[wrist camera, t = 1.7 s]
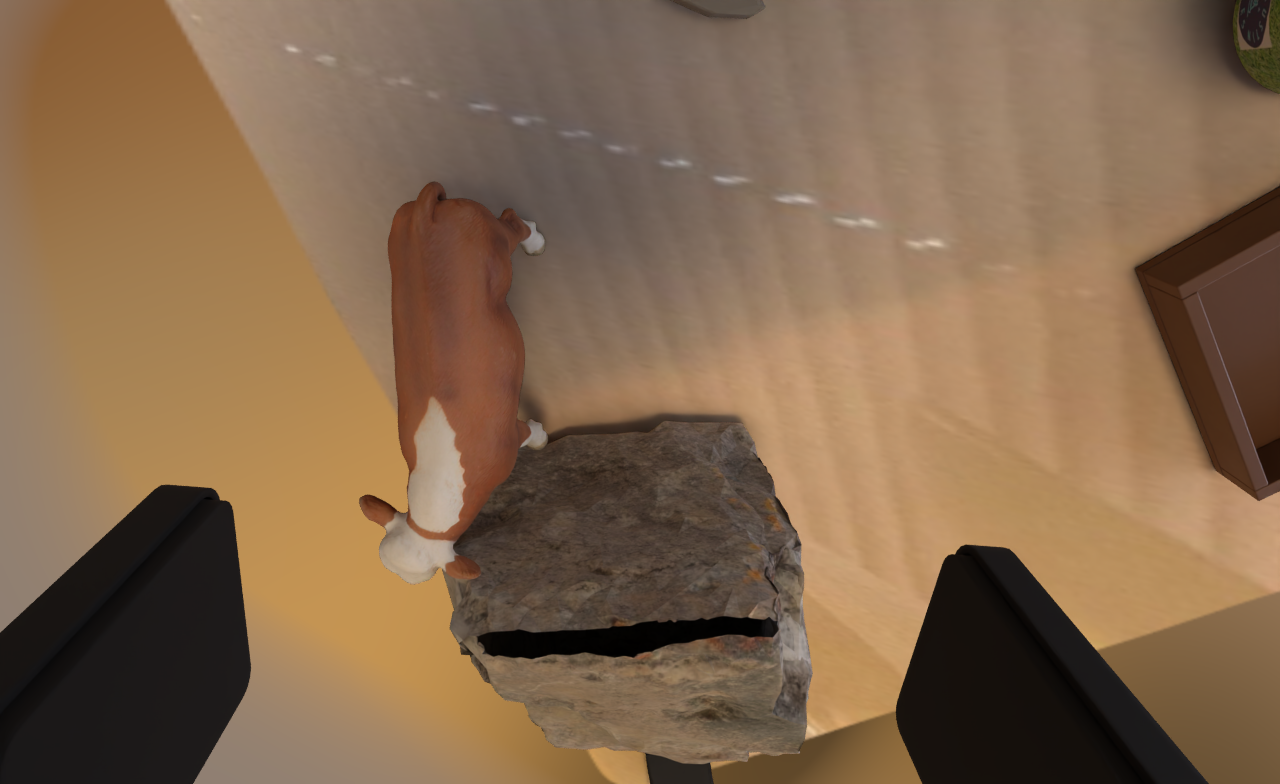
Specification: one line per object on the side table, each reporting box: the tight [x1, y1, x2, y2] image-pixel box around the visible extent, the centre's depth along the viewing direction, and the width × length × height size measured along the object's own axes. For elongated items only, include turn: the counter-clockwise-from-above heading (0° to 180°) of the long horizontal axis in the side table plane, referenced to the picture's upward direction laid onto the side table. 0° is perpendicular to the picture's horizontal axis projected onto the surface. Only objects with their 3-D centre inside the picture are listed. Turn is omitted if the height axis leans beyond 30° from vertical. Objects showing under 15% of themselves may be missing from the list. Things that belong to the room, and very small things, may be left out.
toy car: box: [645, 753, 714, 784], centre depth 39 cm, size 8×3×2 cm, turn 8°
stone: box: [442, 421, 813, 764], centre depth 29 cm, size 13×17×15 cm
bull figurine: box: [359, 182, 548, 584], centre depth 26 cm, size 4×13×8 cm, turn 176°
